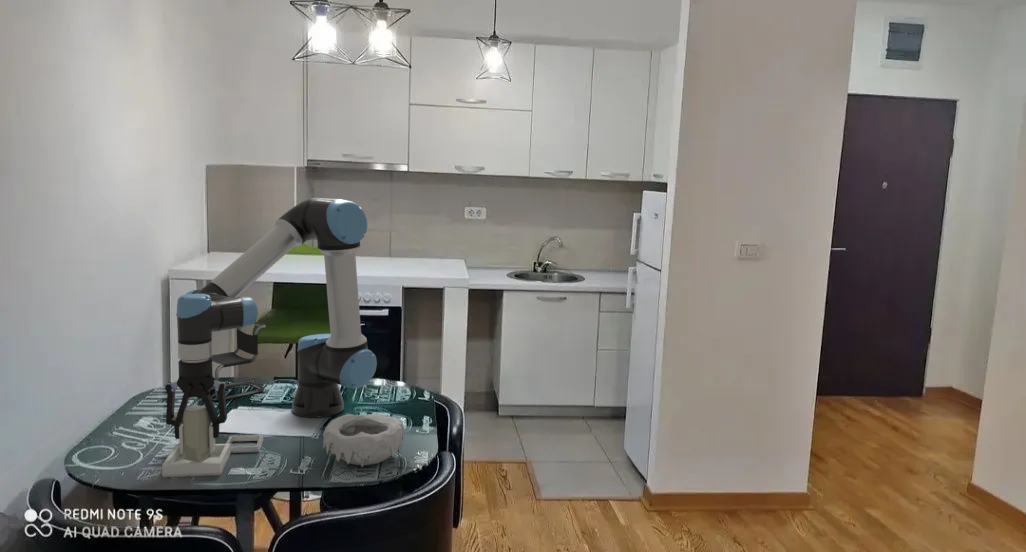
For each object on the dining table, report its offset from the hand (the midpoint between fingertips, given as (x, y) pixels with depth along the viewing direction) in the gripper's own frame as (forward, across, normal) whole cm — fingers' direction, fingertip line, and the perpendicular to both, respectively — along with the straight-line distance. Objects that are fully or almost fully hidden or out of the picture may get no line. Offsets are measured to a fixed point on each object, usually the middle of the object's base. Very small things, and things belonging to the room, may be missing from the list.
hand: (197, 450), depth 186 cm
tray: (+4, 0, 0) cm, 4 cm away
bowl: (+4, -40, 0) cm, 40 cm away
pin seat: (+4, -9, -12) cm, 15 cm away
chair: (+4, +2, -61) cm, 61 cm away
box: (+2, 0, 0) cm, 2 cm away
